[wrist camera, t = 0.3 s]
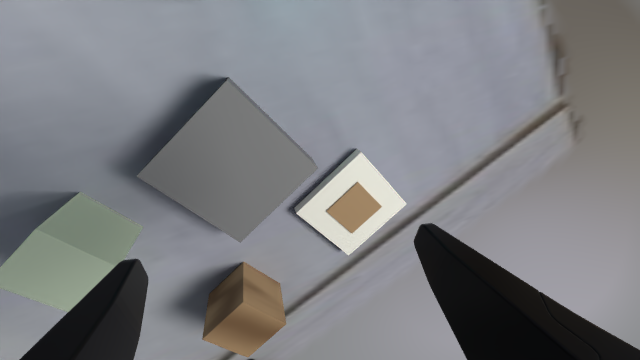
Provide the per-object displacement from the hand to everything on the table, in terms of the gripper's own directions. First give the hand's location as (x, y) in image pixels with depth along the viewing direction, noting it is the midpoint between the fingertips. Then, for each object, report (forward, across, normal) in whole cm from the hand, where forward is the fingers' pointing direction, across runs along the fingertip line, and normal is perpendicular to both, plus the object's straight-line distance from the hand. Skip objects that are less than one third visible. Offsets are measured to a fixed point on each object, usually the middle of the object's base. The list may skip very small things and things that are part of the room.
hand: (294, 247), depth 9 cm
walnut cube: (+11, +3, +19) cm, 22 cm away
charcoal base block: (+14, +3, +5) cm, 16 cm away
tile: (+13, -8, +10) cm, 18 cm away
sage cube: (+13, +14, +10) cm, 22 cm away
